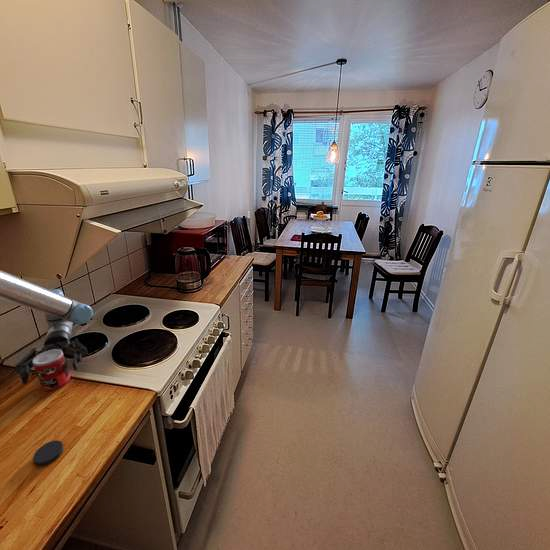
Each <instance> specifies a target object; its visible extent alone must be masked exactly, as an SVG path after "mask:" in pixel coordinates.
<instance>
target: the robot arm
mask: <svg viewBox="0 0 550 550" xmlns="http://www.w3.org/2000/svg"><path fill="white" fill-rule="evenodd" d="M0 300H3V301H6V302H9V303H13V304H16V305H18V306H21V307H24V308H28V309H31V310H34V311H36V312H40V313H43V314H44V316H45V320H46V324H47V327H48V330H47V334H46V336H45V339H44V343H43V346H42V347H41V348H38V349H37V347H33V348H31V349H30V352H28V353H27V355H25V356H23V358H22V359H20V360H19V361H18V362H17V363H16V364H15V365H14V368H15V370H16V373H19V375H20V379H21V383H22V384H23V385H26V384H28V381H29V378H30V374H31V369H32V368H34V366H33V362H32V361H33V359H34V358H35V357H36V356H37V355H39V354H41V353H43V352H45V351H48V350H52V349H60V350H62V352H63V354H64V355H70V356H72V362H71V363H72V368H73V371H77V370H78V365H79V363H81V362H82V357H83V356H88V355H89V352H88V351H89V350H88V348H87V347H86V346H85V345H84V344H82V343H81V342H80V341H79V339H78V338H74V339H73V341H71V338H72V337H71V336H72V330H73V327H74V324H76V325H85V324H87V323H89V322H90V320H91V319H92V317H93V314H94V312H93V308H92V307H91V306H90V305H88V304H86V303H82V302H79V301H77V300H74V299H72V298H70V297H67V296H65V294H64V291H63V290H61V289H57V288H54V289H48V288H45V287H42V286H41V285H37V284H35V283H34V282H33V283H32V282H30V281H28V280H25V279H23V278H21V277H18V276H15V275H13V274H11V273H9V272H6V271H3V270H1V269H0Z"/></svg>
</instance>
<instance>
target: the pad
mask: <svg viewBox="0 0 550 550" xmlns="http://www.w3.org/2000/svg"><path fill="white" fill-rule="evenodd" d="M64 449H65V447H64V444H63V442H62V441H60V440H51V441H48V442H46V443H45V444H44V443H43V444H42V445H41V446H39V448H38V449H36V451H35V452H34V454H33V456H32V457H33V459H32V460H33V462H34V464H35V465H36V466H38V467H44V466H47V465H49V464H52V463H53V462H55V461H56V460H57V459H58V458H60V457H61V455H62V454H63V452H64Z"/></svg>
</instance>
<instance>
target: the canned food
mask: <svg viewBox="0 0 550 550" xmlns="http://www.w3.org/2000/svg"><path fill="white" fill-rule="evenodd" d="M32 362H33V366H34V367H33V369H34V371H35V374H36V376H37V379H38V381H39V385H40V387H41V389H42V390H43V391H47V392H50V391H56V390H58V389H61V388H62V387H64V386H65V385H67V384H68V383H69V382H70V380H71V374H70V371H69V367H68V365H67V360H66V358H65V354H64V353H63V352H62V350H60V349H52V350H48V351H45V352H43V353H41V354H39V355H37V356H36V357H35V358H34V359H33V361H32Z"/></svg>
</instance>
